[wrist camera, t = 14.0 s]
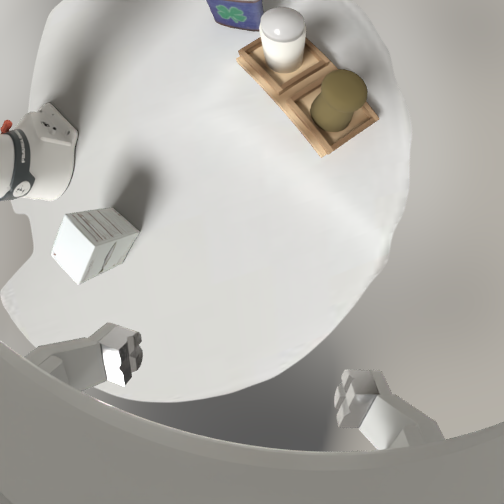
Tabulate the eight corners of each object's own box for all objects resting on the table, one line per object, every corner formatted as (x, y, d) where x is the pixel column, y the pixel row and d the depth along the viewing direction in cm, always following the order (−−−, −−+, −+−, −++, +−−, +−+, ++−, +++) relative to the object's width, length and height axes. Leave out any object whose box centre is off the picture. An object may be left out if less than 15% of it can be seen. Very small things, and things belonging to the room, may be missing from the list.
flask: (268, 23, 32) (262, -15, 22) (261, 35, 33) (253, -3, 22) (219, 12, 32) (202, -23, 22) (211, 24, 33) (192, -11, 23)
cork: (317, 88, 33) (328, 53, 22) (356, 103, 33) (380, 76, 22) (304, 122, 34) (311, 97, 24) (344, 139, 34) (366, 120, 23)
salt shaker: (257, 56, 33) (248, 19, 22) (286, 38, 31) (285, -1, 21) (281, 79, 33) (279, 45, 23) (310, 61, 32) (317, 25, 22)
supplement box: (123, 264, 44) (77, 287, 32) (96, 238, 44) (48, 253, 31) (142, 231, 42) (95, 247, 30) (113, 205, 42) (63, 212, 30)
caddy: (237, 62, 34) (233, 53, 31) (291, 29, 32) (291, 20, 29) (322, 159, 37) (325, 156, 34) (376, 121, 34) (383, 116, 31)
